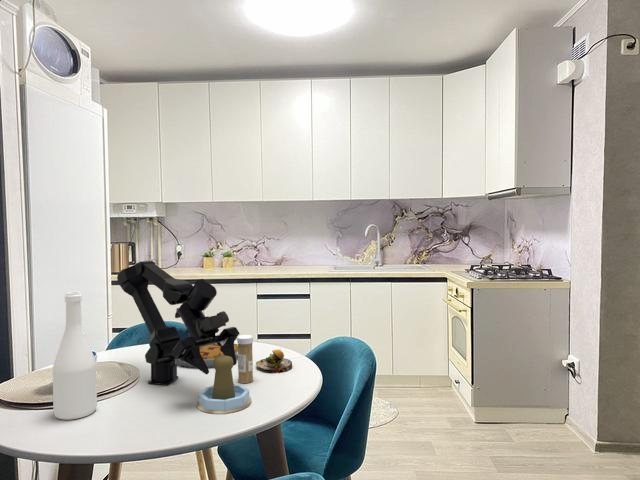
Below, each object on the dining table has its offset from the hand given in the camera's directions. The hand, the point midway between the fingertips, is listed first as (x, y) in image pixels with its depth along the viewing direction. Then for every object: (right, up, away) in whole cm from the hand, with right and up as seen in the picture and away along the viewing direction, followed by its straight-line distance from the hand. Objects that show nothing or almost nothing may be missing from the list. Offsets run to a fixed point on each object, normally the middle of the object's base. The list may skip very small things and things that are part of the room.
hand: (222, 368), depth 122 cm
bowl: (+1, -9, 0) cm, 9 cm away
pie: (-13, -8, +39) cm, 42 cm away
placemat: (+1, -9, 0) cm, 9 cm away
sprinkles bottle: (+3, -8, +17) cm, 19 cm away
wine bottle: (-35, -9, -6) cm, 37 cm away
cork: (0, -8, 0) cm, 8 cm away
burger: (+11, -8, +30) cm, 33 cm away
